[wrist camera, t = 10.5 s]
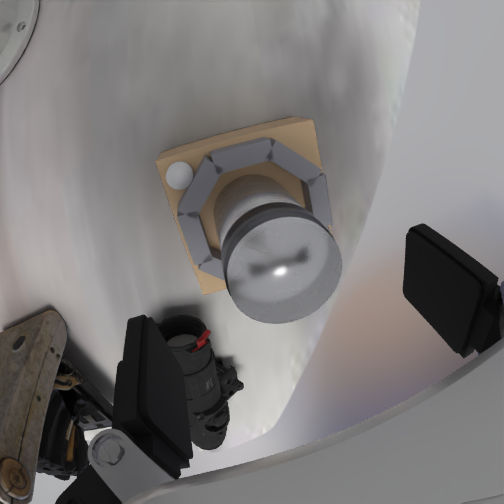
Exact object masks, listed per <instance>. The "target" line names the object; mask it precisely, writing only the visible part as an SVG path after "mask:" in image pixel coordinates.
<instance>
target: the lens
mask: <svg viewBox="0 0 504 504" xmlns="http://www.w3.org/2000/svg"><path fill="white" fill-rule="evenodd" d="M214 221H215V226H216V230H217V235H218V240H219V244H220V249H221V264H222V269H223V274H224V278H225V283H226V287H227V290H228V292H229V294H230V296H231V297H232V299H233V301H234V303H235V304H236V306H237V307H238V308H239V309H240V310H241V311H242V312H243V313H244V314H245V315H247V316H248V317H250V318H252V319H254V320H257V321H260V322H264V323H271V324H280V323H288V322H292V321H296V320H299V319H301V318H304V317H306V316H308V315H310V314H311V313H313V312H314V311H316V310H317V309H318V308H320V307H321V306H322V305H323V304H324V303H325V302H326V301H327V300H328V299H329V298H330V296H331V295H332V293H333V292H334V290H335V288H336V287H337V285H338V282H339V279H340V276H341V271H342V258H341V253H340V250H339V247H338V246H337V244H336V242H335V240H334V238H333V236H332V234H331V233H330V232H329V230H328V229H327V228H326V227H325V226H324V225H323V224H322V223H321V222H320V221H319V220H318V219H317V218H316V217H315V216H314V215H313V214H312V213H311V212H309V211H308V210H306V209H305V208H303V207H302V206H301V205H300V204H299V203H298V202H297V201H296V200H295V199H294V198H293V197H292V196H291V195H290V194H289V193H288V192H287V191H286V190H285V189H284V188H283V187H282V186H281V185H280V184H279V183H278V182H276V181H275V180H273V179H272V178H270V177H267V176H264V175H258V174H251V175H245V176H241V177H238V178H236V179H234V180H233V181H231V182H230V183H228V184H227V185H226V186H225V187H224V188H223V189H222V191H221V192H220V193H219V195H218V197H217V199H216V202H215V206H214Z"/></svg>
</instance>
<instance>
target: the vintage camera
mask: <svg viewBox="0 0 504 504" xmlns="http://www.w3.org/2000/svg"><path fill="white" fill-rule="evenodd" d="M66 341H67V331H66V325H65V322H64V321H63V319H62V318H61V316H60V315H59V314H58V313H57V311H52V310H48V311H46V312H44V313H41V314H39V315H37V316H34V317H32V318H30V319H28V320H26V321H25V322H23V323H20V324H18V325H16V326H14V327H11V328H9V329H7V330H5V331H3V332H1V333H0V504H29V503H30V502H31V501H32V496H33V491H34V483H35V475H36V472H38V473H46V474H48V475H54V477H56V478H58V479H61V480H69V478H70V475H73V476H77V477H78V476H79V475H80V474H81V473H82V472H83V471H84V470H85V469H86V468H87V467H88V466H89V464H90V461H89V459H88V447H89V446H88V444H87V442H86V440H85V438H84V431H88V430H95V429H100V428H106V427H111V426H112V417H113V406H112V405H111V404H110V403H109V402H108V401H107V400H106V399H105V398H104V397H103V396H102V395H101V394H100V393H99V392H98V391H97V390H96V389H95V388H94V387H93V386H92V385H91V384H90V383H89V382H88V381H87V380H86V379H85V378H84V377H83V376H82V375H81V374H80V373H79V372H78V370H77V369H76V368H75V367H74V366H73V365H72V364H71V363H70V362H69V361H68V360H67V358H66V357H65V356H64V355H63V351H64V348H65V345H66Z"/></svg>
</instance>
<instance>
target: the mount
mask: <svg viewBox="0 0 504 504" xmlns="http://www.w3.org/2000/svg"><path fill="white" fill-rule="evenodd" d="M155 162H156V165H157V168H158V171H159V174H160V177H161V180H162V183H163V186H164V189H165V192H166V195H167V198H168V201H169V204H170V207H171V210H172V212H173V215H174V218H175V221H176V224H177V226H178V229H179V232H180V235H181V237H182V240H183V243H184V246H185V248H186V251H187V254H188V256H189V259H190V262H191V264H192V267H193V269H194V272H195V275H196V277H197V280H198V282H199V285H200V287H201V290H202V293H203V295H206V294H209V293H213V292H216V291H220V290H223V289H226V288H227V287H226V283H225V278H224V274H223V269H222V264H221V249H220V244H219V240H218V235H217V230H216V226H215V221H214V206H215V202H216V199H217V197H218V195H219V193H220V192H221V191H222V189H223V188H224V187H225V186H226V185H227V184H228V183H230V182H231V181H233V180H234V179H236V178H238V177H241V176H245V175H251V174H258V175H264V176H267V177H270V178H272V179H273V180H275V181H276V182H278V183H279V184H280V185H281V186H282V187H283V188H284V189H285V190H286V191H287V192H288V193H289V194H290V195H291V196H292V197H293V198H294V199H295V200H296V201H297V202H298V203H299V204H300V205H301V206H302V207H303V208H305V209H306V210H308V211H309V212H311V213H312V214H313V215H314V216H315V217H316V218H317V219H318V220H319V221H320V222H321V223H322V224H323V225H324V226H325V227H326V228H327V229H328V230H329V232H330V233H331V226H330V225H332V217H331V209H330V202H329V195H328V189H327V182H326V176H325V174H323V172H322V166H321V160H320V154H319V149H318V143H317V138H316V132H315V127H314V122H313V120H312V119H306V118H299V117H290V118H285V119H280V120H276V121H271V122H267V123H262V124H258V125H254V126H250V127H246V128H242V129H238V130H234V131H230V132H227V133H223V134H219V135H216V136H212V137H209V138H205V139H202V140H198V141H195V142H192V143H188V144H185V145H182V146H179V147H176V148H173V149H170V150H167V151H164V152H161V154H160V155H159V157H158V158H157V160H156V161H155Z"/></svg>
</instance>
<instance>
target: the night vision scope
mask: <svg viewBox="0 0 504 504" xmlns="http://www.w3.org/2000/svg"><path fill="white" fill-rule="evenodd" d="M156 325H157V327H158V329H159V330H160V332H161V334H162V336H163V337H164V339H165V341H166V343H167V344H168V346H169V348H170V349H171V351H172V353H173V354H174V356H175V358H176V359H177V361H178V363H179V364H180V366H181V368H182V370H183V373H184V379H185V390H186V400H187V409H188V418H189V427H190V435H191V441H192V442H193V443H194V444H195V445H196V446H198V447H200V448H201V449H204V450H213V449H216V448H218V447H219V446H220V445H221V444H222V443H223V441H224V439H225V436H226V431H227V425H228V423H229V421H230V415H229V407H228V402H227V400H229V398H230V397H231V396H233V395H234V394H235V393H236V392H237V391H239V390H242V389H243V388H244V384H243V383H242V382H241V381H239V380H238V379H237V372H236V370H235V368H234V367H233V366H231V365H230V366H231V369H227V368H225V367H224V366H223V363H222V360H221V359H220V358H219V359H217V360H216V361H215V356H214V352H213V350H212V348H211V344H210V340H209V339H208V336H209V334H210V332H211V331H210V330H207V329H206V326H205V325H204V323H203V322H202V321H201V320H200V319H198V318H196V317H193V316H189V315H178V316H173V317H170V318H168V319H166V320H164V321H162V322H161V323H160V324H156Z"/></svg>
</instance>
